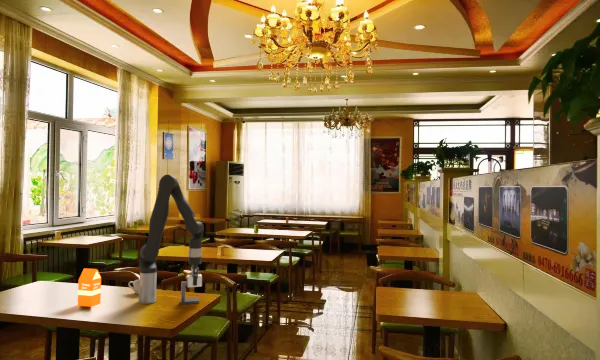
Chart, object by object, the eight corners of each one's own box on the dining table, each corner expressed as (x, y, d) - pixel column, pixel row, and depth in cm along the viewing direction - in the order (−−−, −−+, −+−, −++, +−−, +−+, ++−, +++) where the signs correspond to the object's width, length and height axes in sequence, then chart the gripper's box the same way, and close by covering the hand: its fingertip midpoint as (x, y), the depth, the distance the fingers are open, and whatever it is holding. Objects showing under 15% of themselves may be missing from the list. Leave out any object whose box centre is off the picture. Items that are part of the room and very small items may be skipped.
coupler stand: (181, 304, 243) (181, 283, 243) (180, 300, 251) (181, 280, 251) (201, 303, 247) (202, 282, 247) (200, 299, 254) (201, 279, 254)
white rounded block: (200, 284, 254) (201, 274, 254) (201, 286, 248) (202, 276, 248) (185, 285, 251) (185, 274, 251) (186, 287, 245) (186, 276, 245)
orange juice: (91, 306, 234) (92, 270, 235) (77, 305, 236) (78, 269, 237) (100, 303, 242) (101, 267, 243) (87, 302, 244) (88, 267, 244)
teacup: (154, 291, 271) (154, 279, 271) (146, 296, 260) (146, 282, 260) (133, 290, 272) (133, 278, 273) (124, 294, 262) (125, 281, 262)
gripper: (202, 257, 244) (202, 286, 244) (200, 253, 258) (199, 281, 257) (189, 257, 242) (188, 287, 241) (187, 254, 255) (187, 282, 255)
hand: (194, 284), depth 249 cm, fingers closed on white rounded block, 6 cm apart
